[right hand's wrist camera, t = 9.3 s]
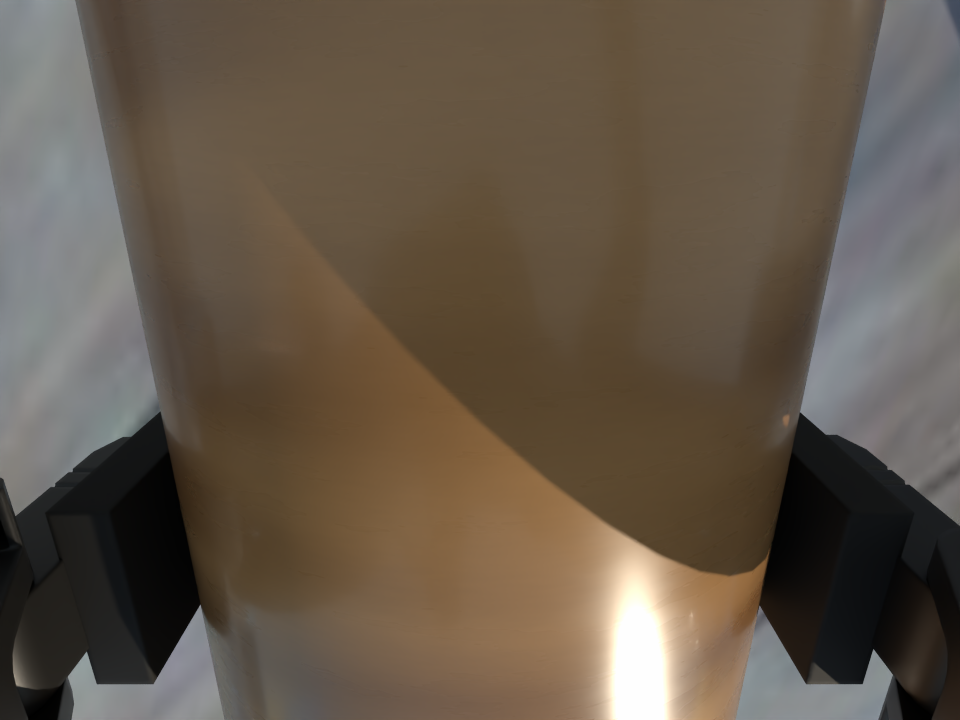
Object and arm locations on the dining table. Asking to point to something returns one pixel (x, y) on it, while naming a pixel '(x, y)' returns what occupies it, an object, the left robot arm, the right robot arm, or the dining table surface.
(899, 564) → the right robot arm
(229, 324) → the rod
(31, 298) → the dining table surface
